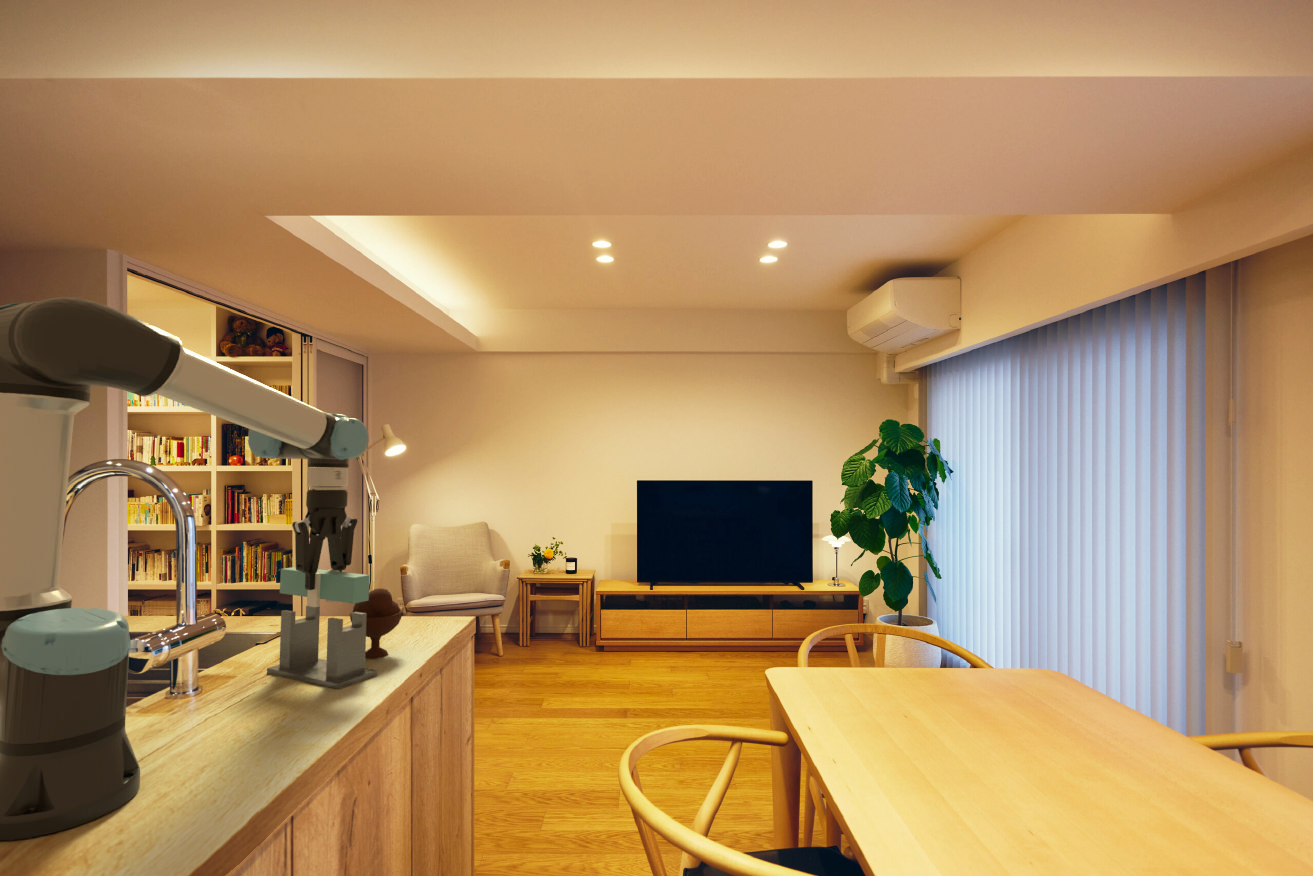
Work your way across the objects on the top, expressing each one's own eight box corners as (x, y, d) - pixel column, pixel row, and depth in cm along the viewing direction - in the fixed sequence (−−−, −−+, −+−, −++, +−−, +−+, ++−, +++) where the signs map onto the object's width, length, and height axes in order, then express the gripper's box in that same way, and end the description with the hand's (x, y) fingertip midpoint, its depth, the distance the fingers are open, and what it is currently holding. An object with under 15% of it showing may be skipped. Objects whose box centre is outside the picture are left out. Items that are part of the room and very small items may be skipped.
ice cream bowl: (409, 649, 147) (411, 584, 148) (384, 664, 136) (386, 593, 137) (366, 647, 148) (368, 582, 149) (337, 662, 137) (340, 592, 138)
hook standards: (338, 689, 121) (340, 622, 121) (266, 673, 130) (269, 611, 130) (376, 675, 129) (378, 613, 129) (307, 661, 138) (309, 602, 138)
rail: (368, 600, 127) (369, 575, 127) (353, 603, 123) (354, 577, 124) (295, 590, 136) (296, 566, 136) (279, 593, 133) (280, 569, 133)
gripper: (302, 489, 122) (296, 613, 120) (373, 488, 137) (369, 598, 135) (276, 488, 125) (271, 609, 124) (349, 487, 140) (345, 595, 139)
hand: (322, 603), depth 130 cm, fingers closed on rail, 3 cm apart
